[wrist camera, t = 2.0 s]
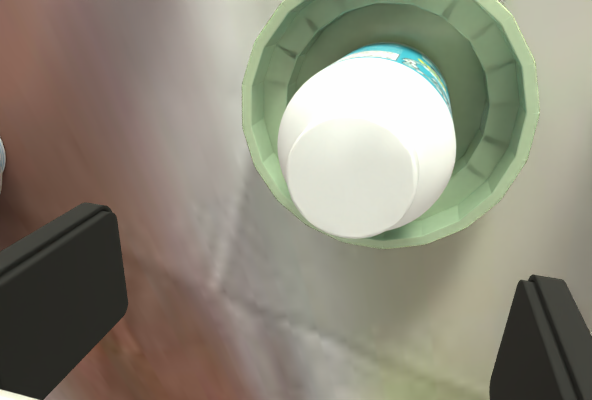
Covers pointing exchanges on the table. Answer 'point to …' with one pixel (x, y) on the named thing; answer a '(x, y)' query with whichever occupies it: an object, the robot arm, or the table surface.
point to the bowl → (455, 69)
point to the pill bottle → (368, 141)
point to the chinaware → (2, 161)
